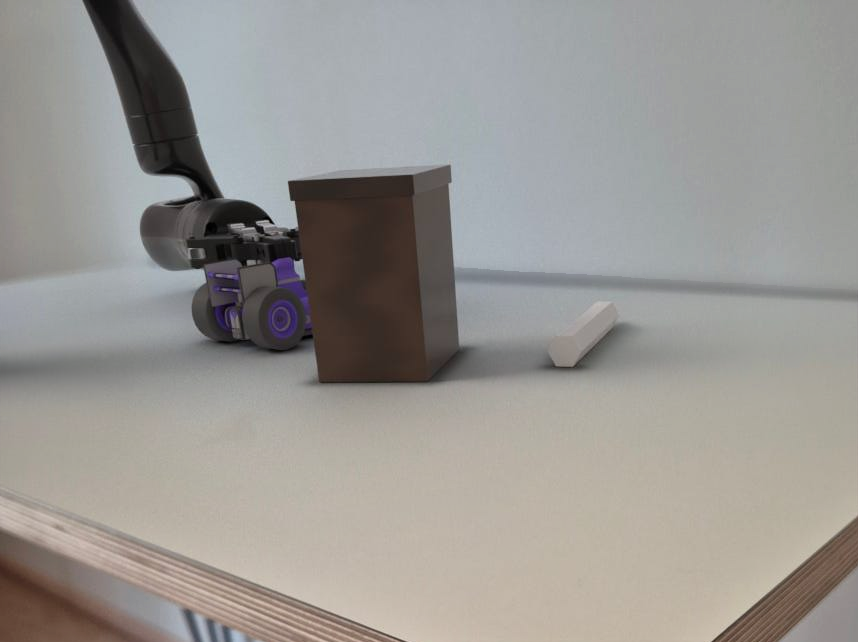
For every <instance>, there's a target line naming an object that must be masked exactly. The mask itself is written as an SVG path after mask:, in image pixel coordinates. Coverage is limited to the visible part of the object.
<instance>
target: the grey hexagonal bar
mask: <svg viewBox="0 0 858 642" xmlns="http://www.w3.org/2000/svg"><path fill="white" fill-rule="evenodd" d="M619 317H620V313H619V311H618V310H617V308H616V306H615V304H614V303H613V301H596V302H595V303H594V304H592V305H591V306H590V307H589V308H587V309H586V310H585V311H584V312H583V313H581V314H580V315H579V316H578V317H576V318H575V319H574V320H573V321H572V322H571V323H569V324H568V325H566V326H565V328H563V329H562V330H561V331H560V332H558V333H557V334H556V335H555V336H554V338H553V340H552V342H551V344H550V346H549V347H548V349H547V353H548V355H549V356H550V358H551V360H552V362H553V363H554V365H555V367H562V368H563V367H565V368H566V367H567V368H569V367H570V368H573V367H574V366H576V364H577V363H578V362H580V360H582V358H584V356H585V355H587V354H588V353H589V352H590V351H591V349H593V348H594V347H595V346H596V345H597V344H598V343H599V342H600V341H601V340H602V339H603V338H604V337H605V336H606V335H607V334H608V333H609V332H610V331H611V330H612V329H613V327H614V326H615V324H616V322H617V321H618V319H619Z"/></svg>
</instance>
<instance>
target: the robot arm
mask: <svg viewBox="0 0 858 642" xmlns="http://www.w3.org/2000/svg"><path fill="white" fill-rule="evenodd" d="M81 1H82V4H83V6H84V8H85V10H86V12H87V15H88V17H89V20H90V22H91V24H92V26H93V28H94V29H93V30H94V32H95V34H96V36H97V38H98V40H99V43H100V45H101V48H102V50H103V53H104V56H105V58H106V61H107V63H108V66H109V69H110V72H111V74H112V78H113V80H114V84H115V87H116V90H117V94H118V97H119V100H120V104H121V107H122V112H123V115H124V118H125V123H126V125H127V130H128V132H129V136H130V140H131V143H132V145H133V151H134V155H135V157H136V161H137V163H138V166H139V168H140V169H141V171H142V172H143V173H144V174H145V175H149V176H151V177H160V178H161V177H163V178H164V177H166V178H178V179H181V180H183V181H185V183H187V185H189V187H190V189H191V190H192V192H193V195H189V196H183V197H180V198H179V197H178V198H174V199H170V200H163V201H158V202H154V203H152V204H150V205H148V206H147V207H146V208H145V209H144V210H143V212H142V214H141V216H140V220H139V237H140V240H141V243H142V246H143V249H144V250H145V252H146V253H147V255H148V257H149V258H150V259H151V260H152V261H153V262H154V263H155V265H157V266H158V267H159V268H161V269H163V270H166V271H169V272H184V271H193V270H202V271H204V267H203V265H204V264H210V263H216V262H222V261H228V260H234V259H236V260H238V261H239V262H240V263H241V264H242V266H248V265H253V264H259V263H265V262H271V263H273V262H274V261H276V260H277V259H282V258H288V257H290V258H291V259H292V260H293V262H294V263H295V262H301V260H302V252H301V245H300V238H299V230H298V226H295V228H288V227H284V226H283V227H278V226H277V224H275V221H273V219H272V218H271V217H270V215H269V214H268V212H266V211H265V209H263V208H262V207H260V206H259V205H257V204H255V203H254V202H251V201H249V200H244V199H234V198H225V196H224V193H223V192H222V190H221V189H220V188H221V187H220V186H219V185H218V182H217V181H216V179H215V176H214V174H213V171H212V169H211V168H210V165H209V162H208V160H207V157H206V155H205V153H204V152H205V151H204V149H203V147H202V143H201V139H200V136H199V132H198V127H197V123H196V119H195V115H194V111H193V108H192V104H191V100H190V96H189V92H188V89H187V86H186V83H185V80H184V78H183V76H182V73H181V72H180V69H179V67H178V66H177V64H176V62H175V61H174V59H173V57H172V56H171V53H170V52H169V51H168V50H167V48H166V47H165V45H164V43H163V42H162V41H161V39H160V37H158V35H157V34H156V33H155V31H154V30H153V28H152V27H151V25H150V24H149V22H148V21H147V19H146V18H145V16H144V15H143V14H142V12H141V10H140V8H139V5H138V4H137V3H136V1H135V0H81Z"/></svg>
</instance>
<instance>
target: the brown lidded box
mask: <svg viewBox="0 0 858 642" xmlns="http://www.w3.org/2000/svg"><path fill="white" fill-rule="evenodd" d="M452 182H453V179H452V165H451V164H433V165H415V166H397V167H395V166H394V167H378V168H377V167H376V168H359V169H357V168H355V169H341V170H335V171H330V172H326V173H320V174H316V175H310V176H305V177H300V178H295V179H291V180H287V186H288V193H289V200H290V202H294V208H295V216H296V222H297V227H298V230H299V238H300V245H301V252H302V259H301V260H302V266H303V273H304V280H305V282H306V289H307V296H308V304H309V311H310V318H311V326H312V333H313V334H312V340H313V346H314V354H315V362H316V369H317V376H318V382H319V383H409V382H410V383H413V382H415V383H418V382H420V383H423V382H428V381H430V380H431V379H432V378H433V376H435V375H436V374H437V372H438V371H440V370H441V368H443V366H444V365H446V363H447V362H448V361H450V360H451V358H452V357H453V356H454V355H455V354H456V353H457V352H459V350H460V338H459V323H458V308H457V307H458V306H457V293H456V291H457V290H456V277H455V260H454V248H453V247H454V246H453V233H452V231H453V230H452V217H451V214H452V213H451V201H450V185H449V184H452Z"/></svg>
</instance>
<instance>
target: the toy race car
mask: <svg viewBox="0 0 858 642" xmlns="http://www.w3.org/2000/svg"><path fill="white" fill-rule="evenodd" d="M203 267H204V270H203V272H204V277H205V283H203V284H201V285H200V286H199V287H198V288H197V289H196V291H195V293H194V295H193V298H192V301H191V316H192V320H193V323H194V325H195V327H196V329H197V330H198V331H199V332H200V333H201V334H202V335H203V336H205V337H206V338H208V339H211V340H214V341H215V340H216V341H222V342H227V343H233V342H237V341H239V340H240V341H244V340H245V341H246V340H250V341H251V342H252V343H254V344H255V345H256V346H258V347H261V348H266V349H271V350H277V351H287V350H290V349H292V348H294V347H295V346H297V344H299V342H301V340H302V338H303V337H306V336H310V335H311V336H313V333H312V326H311V318H310V311H309V304H308V296H307V289H306V282H305V279H301V276H300V275H299V274H298V273H297V271H296V270H295V261H294V262H293V260H292V259H291V258H290V257H288V258H282V259H277V260H276V261H274V262H273V263H271V262H265V263H259V264H253V265H248V266H242V264H241V263H240V262H239V261H238V260H236V259H234V260H228V261H222V262H216V263H210V264H204V265H203Z"/></svg>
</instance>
